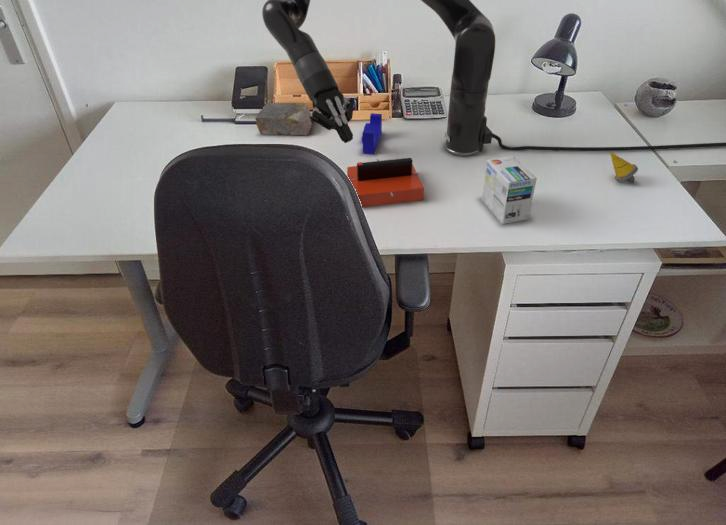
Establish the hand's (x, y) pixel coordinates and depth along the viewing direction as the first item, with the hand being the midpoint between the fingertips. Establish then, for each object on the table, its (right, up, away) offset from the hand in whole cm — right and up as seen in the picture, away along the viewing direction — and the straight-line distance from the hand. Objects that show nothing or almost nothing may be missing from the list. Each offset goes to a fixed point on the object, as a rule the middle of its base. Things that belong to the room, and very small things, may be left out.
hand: (349, 140), depth 131 cm
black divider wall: (+8, -9, -2) cm, 12 cm away
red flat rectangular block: (+9, -12, 0) cm, 14 cm away
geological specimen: (-19, +10, +27) cm, 35 cm away
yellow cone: (+66, -10, +2) cm, 67 cm away
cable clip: (+5, +3, +19) cm, 20 cm away
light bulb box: (+36, -18, -7) cm, 40 cm away
